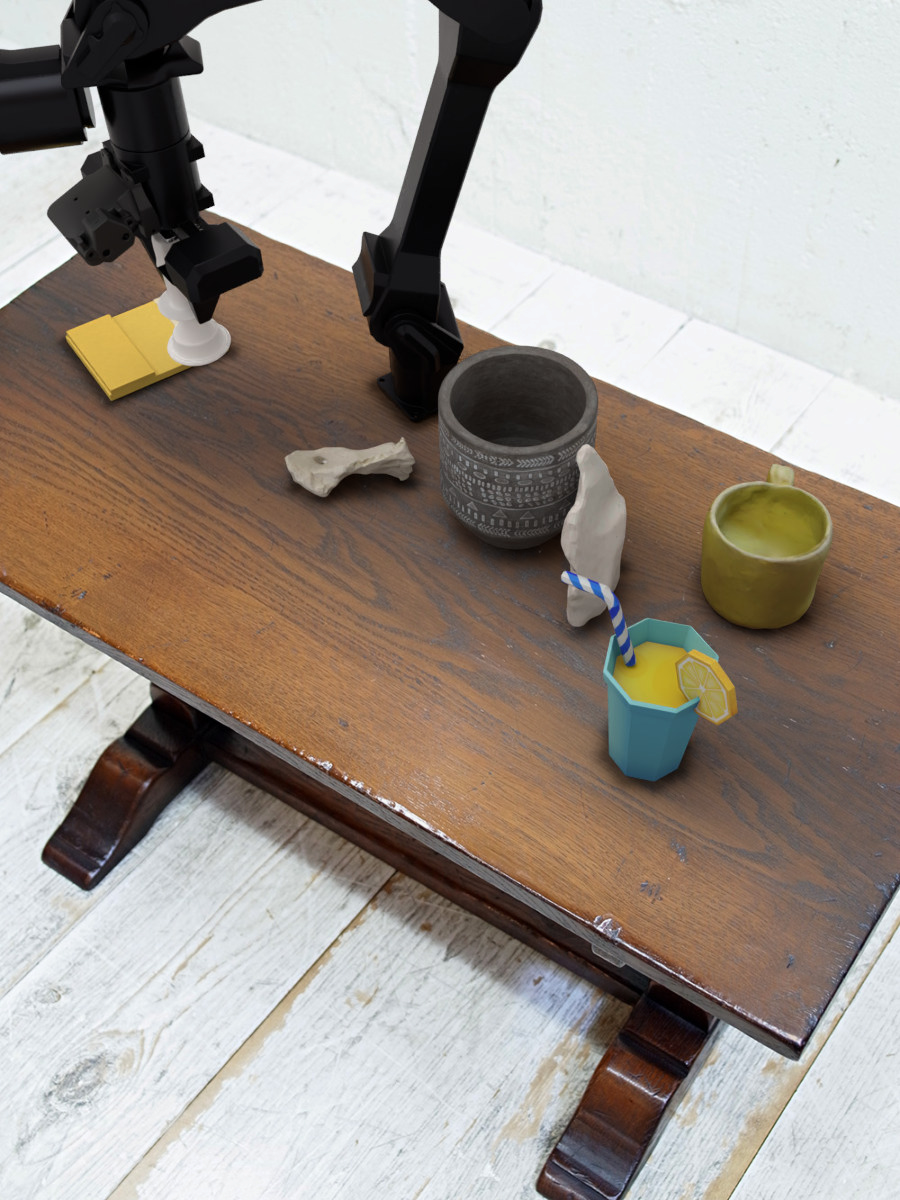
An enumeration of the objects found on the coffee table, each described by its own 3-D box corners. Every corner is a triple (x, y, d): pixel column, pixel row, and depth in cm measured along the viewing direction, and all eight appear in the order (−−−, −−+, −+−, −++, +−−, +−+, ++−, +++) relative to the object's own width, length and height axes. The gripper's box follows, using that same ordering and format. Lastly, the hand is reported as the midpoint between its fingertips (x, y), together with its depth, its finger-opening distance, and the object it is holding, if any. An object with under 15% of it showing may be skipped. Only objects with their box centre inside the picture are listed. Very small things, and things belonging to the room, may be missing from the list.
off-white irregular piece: (285, 467, 111) (279, 429, 107) (404, 445, 112) (401, 407, 109) (296, 514, 107) (289, 476, 104) (418, 490, 109) (416, 452, 105)
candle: (220, 370, 106) (188, 252, 96) (159, 364, 107) (121, 246, 97) (239, 326, 109) (209, 207, 99) (179, 320, 110) (144, 202, 100)
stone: (623, 644, 97) (602, 498, 87) (568, 641, 99) (541, 497, 88) (642, 546, 104) (624, 399, 94) (591, 544, 105) (568, 399, 95)
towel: (229, 351, 120) (227, 340, 119) (111, 401, 116) (108, 391, 115) (181, 295, 126) (179, 285, 125) (67, 341, 122) (63, 331, 121)
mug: (813, 657, 95) (806, 542, 90) (683, 635, 100) (670, 525, 95) (863, 570, 103) (860, 459, 98) (740, 554, 108) (731, 449, 103)
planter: (588, 462, 110) (598, 345, 100) (588, 571, 103) (600, 457, 93) (446, 457, 111) (442, 341, 101) (436, 565, 103) (431, 451, 93)
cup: (524, 732, 94) (530, 603, 82) (582, 661, 97) (596, 529, 86) (692, 833, 88) (724, 711, 76) (747, 754, 92) (785, 627, 80)
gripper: (-8, 112, 94) (50, 285, 107) (104, 235, 85) (153, 410, 97) (129, 63, 98) (170, 235, 110) (251, 175, 88) (280, 351, 101)
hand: (189, 305), depth 104 cm, fingers closed on candle, 5 cm apart
